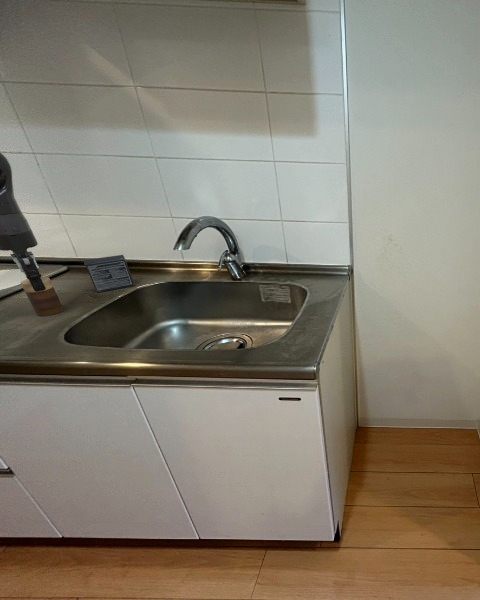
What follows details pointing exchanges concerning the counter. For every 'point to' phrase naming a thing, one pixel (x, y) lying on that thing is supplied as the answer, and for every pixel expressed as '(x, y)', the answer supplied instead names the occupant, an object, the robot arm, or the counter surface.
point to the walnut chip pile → (45, 302)
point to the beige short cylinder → (29, 288)
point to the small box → (109, 273)
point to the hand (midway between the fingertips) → (37, 286)
